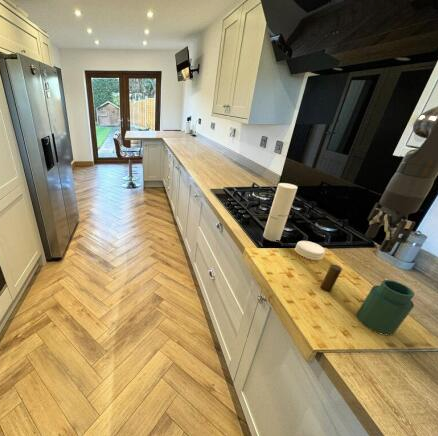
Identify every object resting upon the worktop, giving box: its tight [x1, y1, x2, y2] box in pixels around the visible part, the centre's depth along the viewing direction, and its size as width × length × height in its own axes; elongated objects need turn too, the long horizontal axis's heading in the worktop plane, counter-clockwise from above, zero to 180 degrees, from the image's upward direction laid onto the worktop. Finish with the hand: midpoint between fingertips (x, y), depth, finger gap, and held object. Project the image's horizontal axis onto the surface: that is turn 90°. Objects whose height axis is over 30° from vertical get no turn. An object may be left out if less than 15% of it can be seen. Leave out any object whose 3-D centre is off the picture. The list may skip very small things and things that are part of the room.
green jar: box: [356, 279, 415, 336], centre depth 64 cm, size 8×8×13 cm
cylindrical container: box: [262, 182, 298, 242], centre depth 103 cm, size 7×7×25 cm
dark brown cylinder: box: [320, 264, 343, 293], centre depth 77 cm, size 3×3×9 cm
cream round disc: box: [294, 240, 326, 261], centre depth 97 cm, size 10×10×4 cm
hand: (376, 243), depth 68 cm, fingers open, 8 cm apart
